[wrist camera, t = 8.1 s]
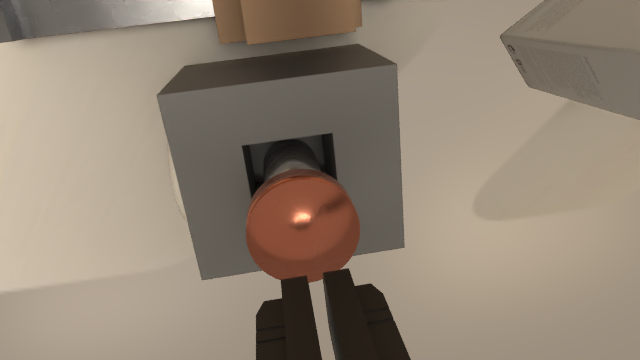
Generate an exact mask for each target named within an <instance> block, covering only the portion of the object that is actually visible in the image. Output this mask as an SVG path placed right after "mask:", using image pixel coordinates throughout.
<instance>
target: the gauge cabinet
mask: <svg viewBox="0 0 640 360" xmlns="http://www.w3.org/2000/svg"><path fill="white" fill-rule="evenodd" d="M397 81H398V80H397V64H396V63H394V62H392V61H390V60H388V59H386V58H384V57H382V56H380V55H378V54H377V53H375V52H373V51H371V50H369V49H367V48H365V47H363V46H361V45H359V44H355V45H347V46H339V47H331V48H324V49H316V50H308V51H300V52H292V53H284V54H276V55H268V56H260V57H252V58H244V59H237V60H229V61H221V62H213V63H205V64H197V65H189V66H184V67H183V68H182V69H181V70H180V71H179V72H178V74H177V75H176V76H175V77H174V78H173V79H172V80H171V81H170V82H169V83H168V84H167V85H166V86H165V87H164V88H163V89H162V90H161V91H160V93H159V94H158V95H157V99H158V103H159V107H160V111H161V115H162V119H163V123H164V127H165V131H166V135H167V140H168V161H169V169H170V176H171V181H172V186H173V191H174V195H175V198H176V202H177V205H178V207H179V210H180V212H181V214H182V216H183V218H184V219H185V220H186V221H187V222H188V225H189V229H190V234H191V238H192V242H193V246H194V250H195V254H196V258H197V262H198V266H199V270H200V274H201V278H202V280H206V279H213V278H219V277H225V276H231V275H238V274H244V273H250V272H256V271H262V269H261V268H260V267H259V266H258V265H257V264H256V263H255V262H254V260H253V258H252V257H251V255H250V253H249V250H248V247H247V242H246V221H247V211H248V207H249V204H250V201H251V199H252V197H253V195H254V194H255V192H256V191H257V190H258V189H259V188H260V186H261V185H262V184H264V167H263V163H264V157H265V154H266V152H267V151H268V149H269V148H270V147H271V146H272V145H273V144H275V143H276V142H278V141H280V140H285V139H298V140H301V141H303V142H305V143H306V144H307V145H309V146H310V147H311V149H312V150H313V152H314V154H315V156H316V159H317V162H318V165H319V168H320V170H321V172H323V173H325V174H327V175H329V176H331V177H333V178H334V179H336V180H337V181H338V182H339V183H340V184H341V185H342V186H343V187H344V188H345V190H346V191H347V193H348V194H349V196H350V198H351V201H352V203H353V205H354V207H355V209H356V212H357V214H358V217H359V222H360V238H359V242H358V245H357V248H356V250H355V252H354V254H353V255H352V256H355V255H361V254H367V253H374V252H380V251H386V250H392V249H399V248H404V225H403V201H402V177H401V155H400V153H401V152H400V128H399V104H398V82H397Z"/></svg>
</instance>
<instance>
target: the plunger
mask: <svg viewBox="0 0 640 360" xmlns="http://www.w3.org/2000/svg"><path fill="white" fill-rule="evenodd" d="M263 167H264V184H262V185H261V186H260V188H259V189H258V190H257V191H256V192H255V194H254V195H253V197H252V199H251V201H250V204H249V207H248V211H247V221H246V242H247V247H248V250H249V253H250V255H251V257H252V258H253V260H254V262H255V263H256V264H257V265H258V266H259V267H260V268H261V269H262V270H263V271H264V272H266V273H267V274H269V275H270V276H272V277H274V278H276V279H279V280H281V279H287V278H293V277H299V276H305V275H307V278H308V283H309V282H314V281H318V280H321V279H323V274H322V273H323V272H329V271H335V270H340V269H341V268H342V267H343V266H344V265H345V264H346V263H347V262H348V261H349V259H350V258H351V257H352V255H353V254H354V252H355V250H356V248H357V245H358V242H359V238H360V222H359V217H358V214H357V212H356V209H355V207H354V205H353V203H352V201H351V198H350V196H349V194H348V193H347V191H346V190H345V188H344V187H343V186H342V185H341V184H340V183H339V182H338V181H337V180H336V179H334V178H333V177H331V176H329V175H327V174H325V173H323V172H321V170H320V168H319V165H318V162H317V159H316V156H315V154H314V152H313V150H312V149H311V147H310V146H309V145H307V144H306V143H305V142H303V141H301V140H298V139H285V140H280V141H278V142H276V143H275V144H273V145H272V146H271V147H270V148H269V149H268V151H267V152H266V154H265V157H264V163H263Z"/></svg>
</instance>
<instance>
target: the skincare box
mask: <svg viewBox="0 0 640 360" xmlns="http://www.w3.org/2000/svg"><path fill="white" fill-rule="evenodd" d="M500 38H501V40H502V42H503V44H504V46H505V47H506V49H507V50H508V52H509V54H510V56H511V57H512V59H513V61H514V63H515V65H516V67H517V68H518V70H519V72H520V74H521V75H522V77H523V78H524V80H525V82H526V84H527V85H528V86H529V87H531V88H534V89H538V90H541V91H544V92H547V93H551V94H554V95H557V96H561V97H564V98H567V99H571V100H574V101H577V102H581V103H584V104H588V105H591V106H594V107H598V108H601V109H604V110H608V111H611V112H614V113H618V114H621V115H624V116H628V117H631V118H635V119H638V120H640V0H545V1H543V2H542V3H541V4H539V5H538V6H537V7H536V8H534V9H533V10H532V11H530V12H529V13H528V14H527V15H525V16H524V17H523V18H522V19H520V20H519V21H518V22H516V23H515V24H514V25H513V26H511V27H510V28H509V29H507V30H506V31H505V32H504V33H503V34H501V36H500Z"/></svg>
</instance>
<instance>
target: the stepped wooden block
mask: <svg viewBox="0 0 640 360" xmlns="http://www.w3.org/2000/svg"><path fill="white" fill-rule="evenodd" d="M212 3H213V9H214V14H215V20H216V25H217V31H218V36H219V42H220V44H223V43H231V42H240V41H247V45H251V44H259V43H267V42H275V41H283V40H291V39H299V38H307V37H315V36H323V35H331V34H339V33H347V32H355V31H356V29H355V27H361V26H362V15H361V0H212Z"/></svg>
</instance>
